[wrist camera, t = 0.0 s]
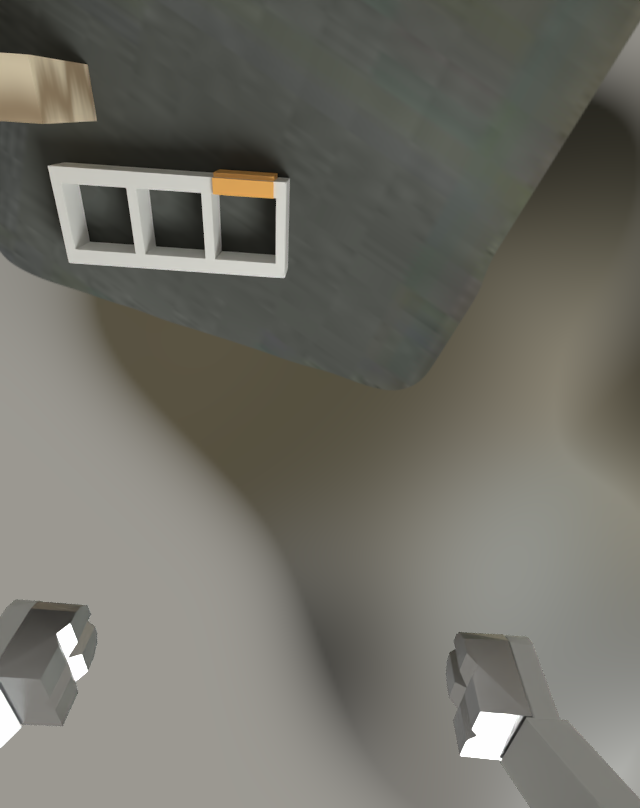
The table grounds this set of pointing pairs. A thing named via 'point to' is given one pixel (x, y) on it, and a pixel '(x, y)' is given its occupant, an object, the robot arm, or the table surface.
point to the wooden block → (44, 90)
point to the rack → (144, 247)
